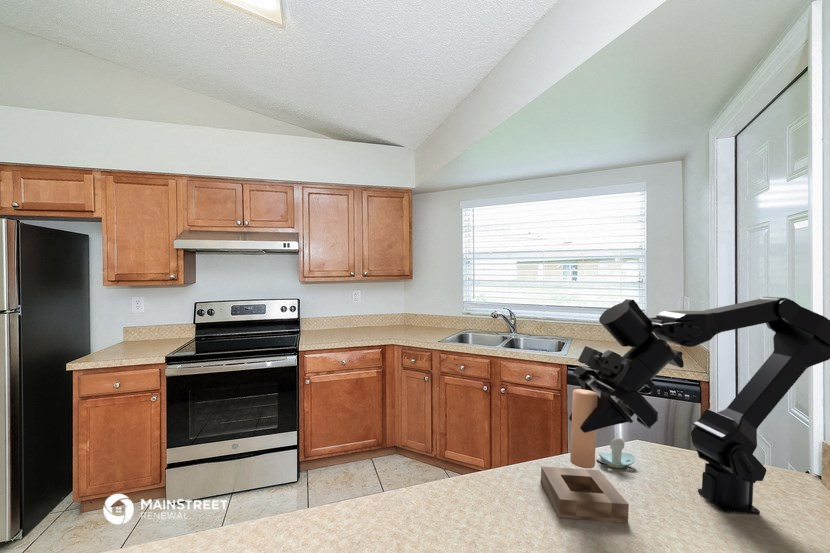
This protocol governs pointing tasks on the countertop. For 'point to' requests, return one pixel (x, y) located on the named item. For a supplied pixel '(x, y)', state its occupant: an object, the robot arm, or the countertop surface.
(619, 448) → the pacifier
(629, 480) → the countertop surface
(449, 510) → the countertop surface
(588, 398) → the peg
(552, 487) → the socket block
